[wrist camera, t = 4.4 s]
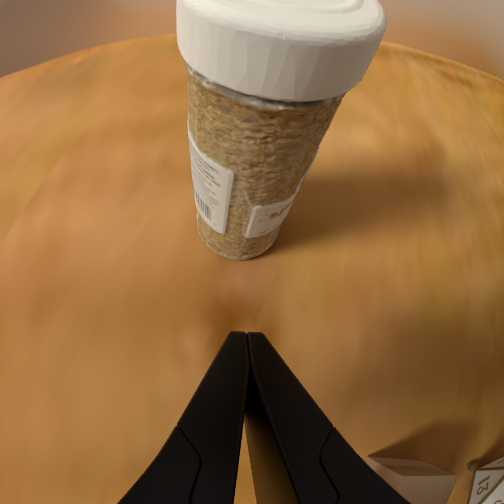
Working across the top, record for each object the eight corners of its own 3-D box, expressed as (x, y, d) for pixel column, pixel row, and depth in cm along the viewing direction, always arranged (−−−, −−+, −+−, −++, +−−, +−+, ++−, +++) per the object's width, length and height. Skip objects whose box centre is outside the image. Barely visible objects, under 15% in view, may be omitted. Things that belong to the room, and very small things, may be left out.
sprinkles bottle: (281, 261, 17) (426, 58, 4) (193, 261, 17) (155, 22, 4) (276, 184, 18) (360, -35, 6) (196, 183, 18) (189, -56, 5)
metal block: (395, 513, 13) (429, 536, 9) (342, 513, 13) (370, 543, 9) (418, 459, 14) (458, 474, 11) (365, 455, 14) (402, 476, 11)
